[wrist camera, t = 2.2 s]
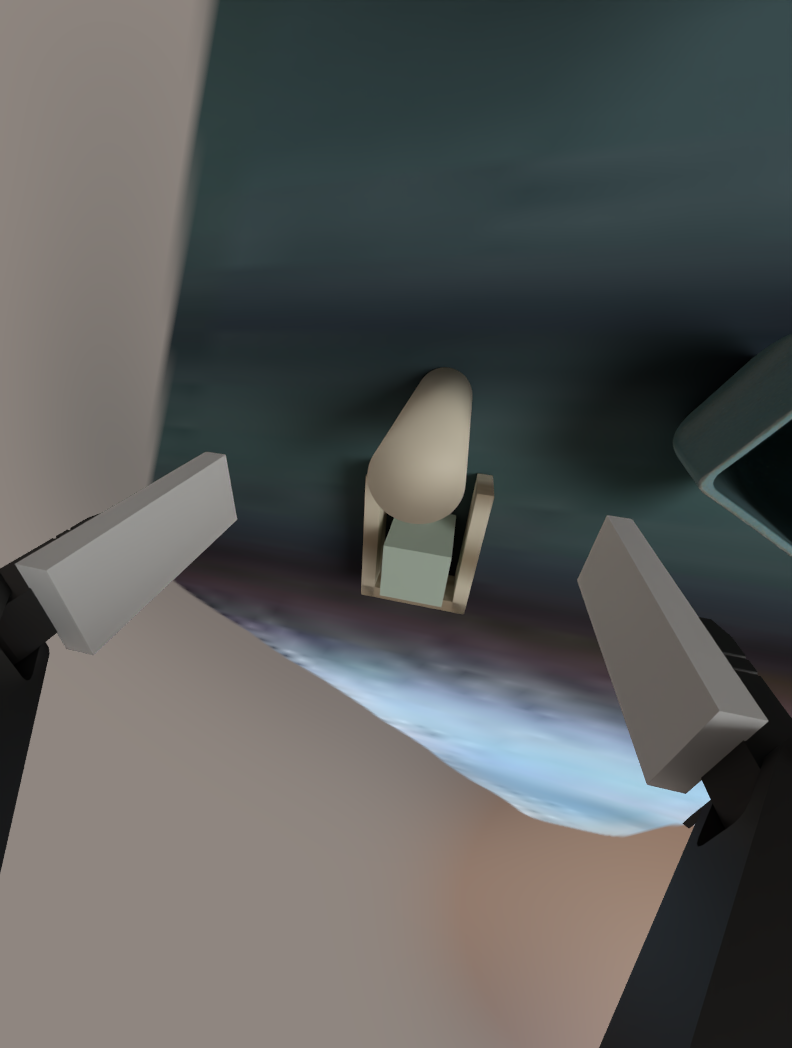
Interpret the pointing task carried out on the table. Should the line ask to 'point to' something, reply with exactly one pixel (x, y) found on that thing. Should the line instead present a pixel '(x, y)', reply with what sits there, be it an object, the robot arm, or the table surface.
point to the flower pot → (747, 444)
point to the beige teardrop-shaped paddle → (423, 486)
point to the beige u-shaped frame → (468, 556)
